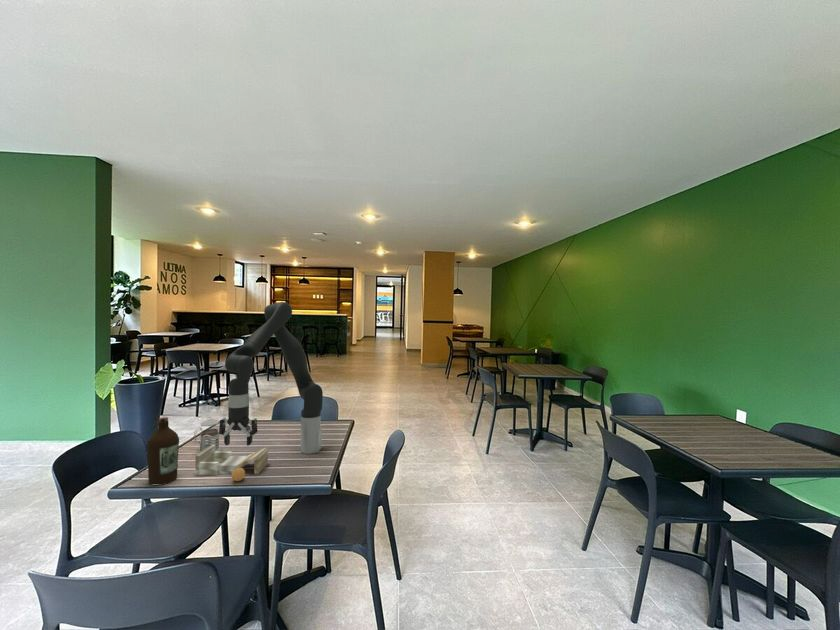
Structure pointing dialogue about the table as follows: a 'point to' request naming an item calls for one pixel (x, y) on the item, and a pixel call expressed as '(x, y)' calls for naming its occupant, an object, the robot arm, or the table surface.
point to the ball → (238, 474)
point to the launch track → (227, 461)
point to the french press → (211, 432)
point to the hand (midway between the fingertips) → (238, 444)
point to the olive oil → (162, 454)
